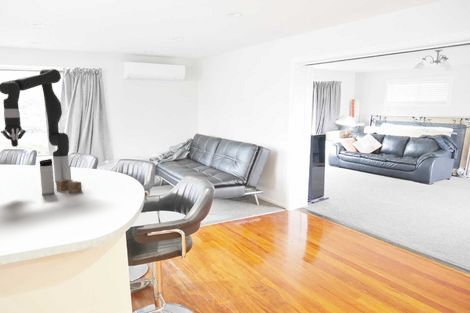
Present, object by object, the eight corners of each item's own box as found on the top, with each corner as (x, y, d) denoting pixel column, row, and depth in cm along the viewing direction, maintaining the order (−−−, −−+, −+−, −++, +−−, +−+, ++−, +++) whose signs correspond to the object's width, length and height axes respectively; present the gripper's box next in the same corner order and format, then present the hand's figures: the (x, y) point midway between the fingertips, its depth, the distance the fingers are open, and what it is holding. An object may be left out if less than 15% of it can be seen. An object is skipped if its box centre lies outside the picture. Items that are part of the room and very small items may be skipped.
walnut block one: (76, 191, 194) (75, 181, 193) (81, 192, 192) (81, 181, 191) (68, 192, 190) (68, 182, 189) (73, 193, 187) (73, 183, 187)
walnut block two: (64, 188, 200) (63, 179, 199) (69, 189, 198) (68, 179, 197) (56, 190, 196) (55, 180, 195) (61, 191, 194) (60, 181, 193)
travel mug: (57, 193, 189) (55, 159, 187) (47, 195, 183) (45, 160, 181) (49, 192, 191) (46, 158, 189) (39, 194, 185) (36, 160, 183)
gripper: (2, 117, 181) (5, 147, 183) (27, 116, 192) (30, 145, 194) (-4, 117, 184) (-1, 147, 187) (20, 116, 196) (23, 145, 198)
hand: (15, 146), depth 191 cm, fingers closed
